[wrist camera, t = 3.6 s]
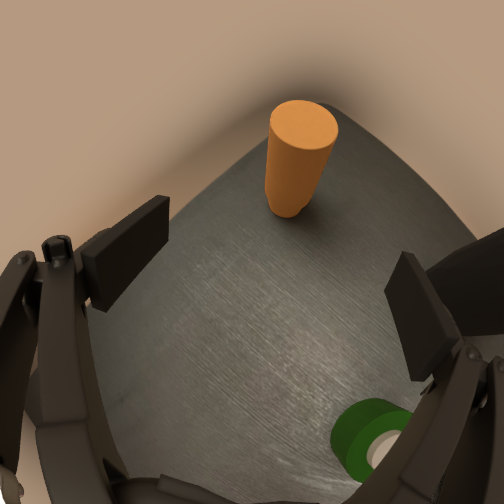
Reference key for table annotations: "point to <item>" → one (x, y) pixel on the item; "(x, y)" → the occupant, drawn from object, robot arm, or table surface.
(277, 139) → the orange tall cylinder
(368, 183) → the table surface
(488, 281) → the portable speaker
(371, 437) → the candle
